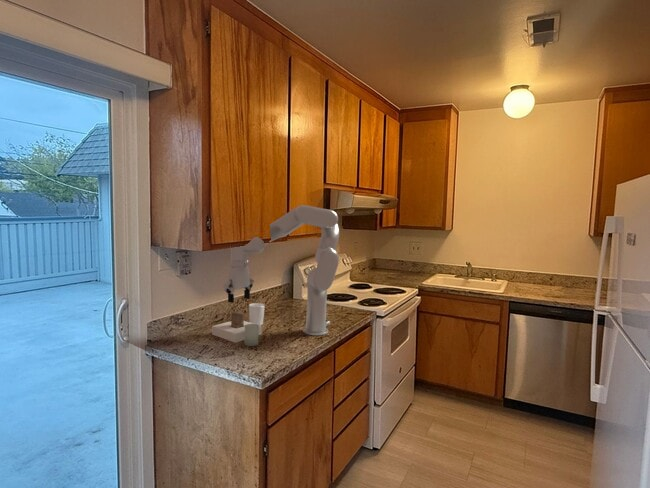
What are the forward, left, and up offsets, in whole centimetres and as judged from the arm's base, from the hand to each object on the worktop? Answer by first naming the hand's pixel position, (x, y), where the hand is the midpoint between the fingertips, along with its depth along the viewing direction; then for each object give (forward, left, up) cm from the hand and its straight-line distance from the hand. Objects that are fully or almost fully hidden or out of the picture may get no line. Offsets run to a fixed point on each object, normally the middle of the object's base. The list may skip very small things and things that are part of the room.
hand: (239, 300), depth 180 cm
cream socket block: (0, 0, -16) cm, 16 cm away
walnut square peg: (0, 0, -16) cm, 16 cm away
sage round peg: (+4, +14, -16) cm, 22 cm away
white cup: (-18, -6, -16) cm, 25 cm away
